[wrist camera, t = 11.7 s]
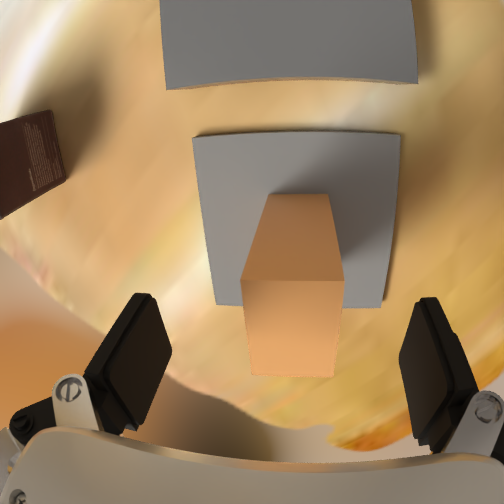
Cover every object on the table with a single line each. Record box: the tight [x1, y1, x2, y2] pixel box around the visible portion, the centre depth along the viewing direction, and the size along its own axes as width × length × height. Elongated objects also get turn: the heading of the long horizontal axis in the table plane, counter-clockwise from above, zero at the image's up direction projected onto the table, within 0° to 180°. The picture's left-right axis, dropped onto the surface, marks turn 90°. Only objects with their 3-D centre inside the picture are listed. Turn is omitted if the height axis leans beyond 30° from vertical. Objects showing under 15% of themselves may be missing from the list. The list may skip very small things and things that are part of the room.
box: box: [0, 110, 66, 220], centre depth 17 cm, size 6×6×7 cm
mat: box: [192, 131, 401, 308], centre depth 20 cm, size 12×12×1 cm
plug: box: [240, 194, 345, 377], centre depth 15 cm, size 5×4×9 cm
